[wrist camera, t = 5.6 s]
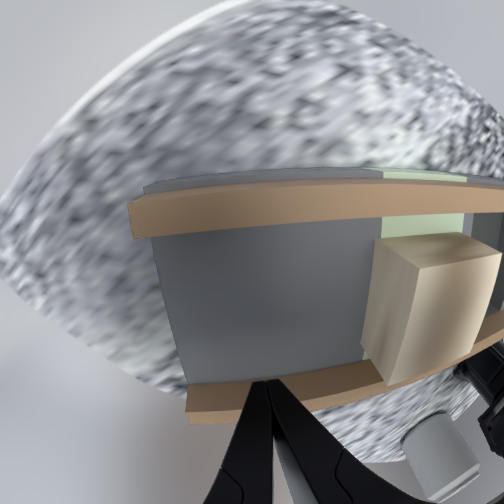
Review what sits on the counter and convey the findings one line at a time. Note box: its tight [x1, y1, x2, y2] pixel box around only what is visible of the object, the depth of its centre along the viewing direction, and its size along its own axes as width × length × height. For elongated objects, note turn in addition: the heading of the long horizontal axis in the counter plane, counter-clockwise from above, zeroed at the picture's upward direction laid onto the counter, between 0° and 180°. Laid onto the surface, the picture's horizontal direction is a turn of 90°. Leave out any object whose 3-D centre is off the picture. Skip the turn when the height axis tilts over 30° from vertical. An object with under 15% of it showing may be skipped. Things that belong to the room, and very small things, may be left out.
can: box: [402, 414, 480, 504], centre depth 19 cm, size 8×8×12 cm
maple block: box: [360, 232, 502, 386], centre depth 11 cm, size 6×6×4 cm
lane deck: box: [128, 167, 504, 425], centre depth 13 cm, size 26×12×4 cm, turn 94°
